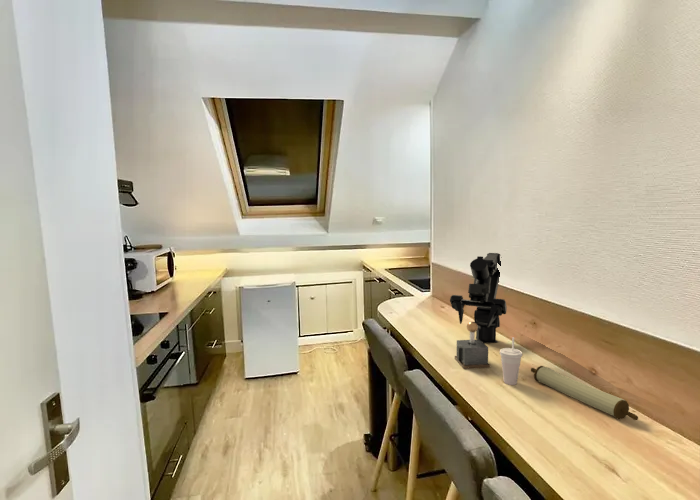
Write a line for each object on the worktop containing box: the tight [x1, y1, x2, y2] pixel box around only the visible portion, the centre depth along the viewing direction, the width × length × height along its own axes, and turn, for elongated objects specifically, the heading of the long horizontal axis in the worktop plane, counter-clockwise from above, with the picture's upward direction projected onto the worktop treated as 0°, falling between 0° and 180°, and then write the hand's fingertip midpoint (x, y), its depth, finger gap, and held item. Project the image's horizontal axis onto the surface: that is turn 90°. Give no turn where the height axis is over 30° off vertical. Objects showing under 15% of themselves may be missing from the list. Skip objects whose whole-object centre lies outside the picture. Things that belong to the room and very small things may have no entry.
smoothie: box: [499, 336, 523, 386], centre depth 122 cm, size 6×6×14 cm
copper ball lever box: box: [454, 339, 491, 370], centre depth 138 cm, size 9×9×7 cm
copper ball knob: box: [466, 321, 478, 345], centre depth 137 cm, size 6×6×9 cm
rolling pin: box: [530, 365, 639, 421], centre depth 112 cm, size 32×6×5 cm, turn 22°
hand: (473, 324), depth 139 cm, fingers open, 9 cm apart
